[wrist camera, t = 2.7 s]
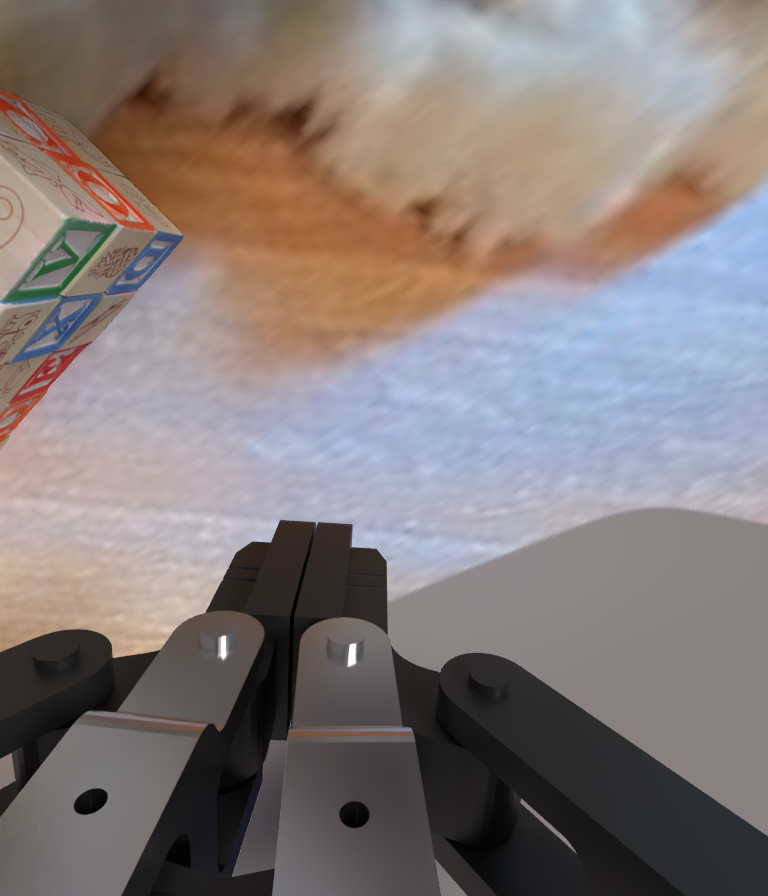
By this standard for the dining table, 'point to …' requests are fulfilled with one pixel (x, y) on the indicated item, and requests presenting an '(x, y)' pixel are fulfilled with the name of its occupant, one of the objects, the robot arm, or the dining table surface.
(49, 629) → the dining table surface
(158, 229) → the stack of blocks
